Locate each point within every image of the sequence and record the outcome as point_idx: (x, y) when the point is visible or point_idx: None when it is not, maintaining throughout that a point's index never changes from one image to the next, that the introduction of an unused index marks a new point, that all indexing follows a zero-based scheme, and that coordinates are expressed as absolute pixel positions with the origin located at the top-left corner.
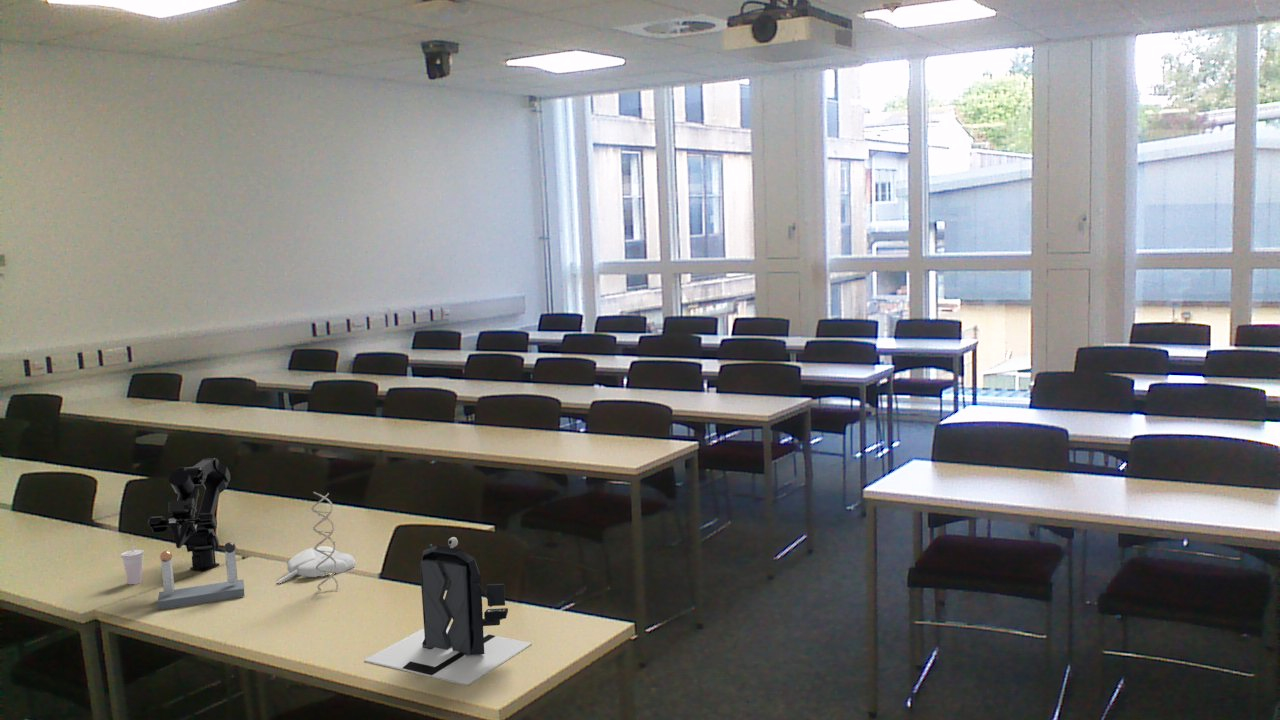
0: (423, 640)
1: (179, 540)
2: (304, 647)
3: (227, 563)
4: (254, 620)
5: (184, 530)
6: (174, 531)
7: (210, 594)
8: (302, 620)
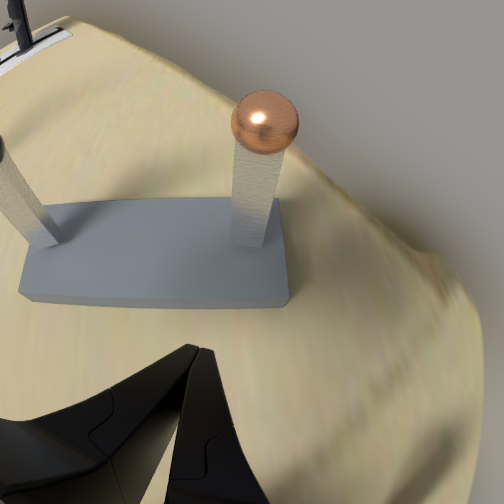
0: (23, 55)
1: (172, 372)
2: (90, 47)
3: (26, 182)
4: (92, 100)
5: (64, 432)
6: (233, 488)
7: (122, 201)
8: (48, 92)
